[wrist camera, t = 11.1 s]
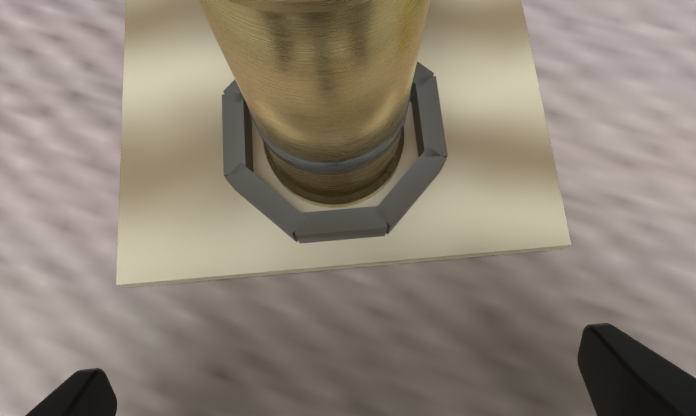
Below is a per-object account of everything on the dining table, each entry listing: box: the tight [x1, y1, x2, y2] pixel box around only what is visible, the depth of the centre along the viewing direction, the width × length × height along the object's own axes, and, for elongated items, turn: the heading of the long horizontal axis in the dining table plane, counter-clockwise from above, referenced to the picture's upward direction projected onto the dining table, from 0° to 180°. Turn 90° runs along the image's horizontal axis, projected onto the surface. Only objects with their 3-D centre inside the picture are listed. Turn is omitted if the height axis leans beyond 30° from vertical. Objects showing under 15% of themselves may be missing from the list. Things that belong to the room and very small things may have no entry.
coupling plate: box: [116, 0, 571, 288], centre depth 21 cm, size 22×17×2 cm
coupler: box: [198, 0, 430, 208], centre depth 13 cm, size 5×5×12 cm
